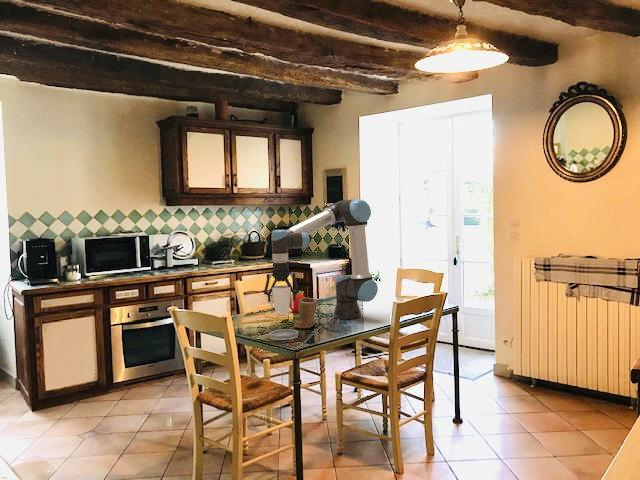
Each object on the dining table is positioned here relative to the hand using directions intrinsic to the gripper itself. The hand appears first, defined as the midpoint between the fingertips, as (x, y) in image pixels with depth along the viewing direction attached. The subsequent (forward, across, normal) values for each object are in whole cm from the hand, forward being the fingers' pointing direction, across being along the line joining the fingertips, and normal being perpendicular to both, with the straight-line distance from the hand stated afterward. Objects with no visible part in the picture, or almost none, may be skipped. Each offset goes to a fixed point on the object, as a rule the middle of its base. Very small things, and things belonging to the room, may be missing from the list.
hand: (282, 308), depth 274 cm
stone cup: (+14, +11, +20) cm, 27 cm away
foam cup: (+3, 0, 0) cm, 3 cm away
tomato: (+14, +5, +60) cm, 62 cm away
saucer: (+14, 0, 0) cm, 14 cm away
